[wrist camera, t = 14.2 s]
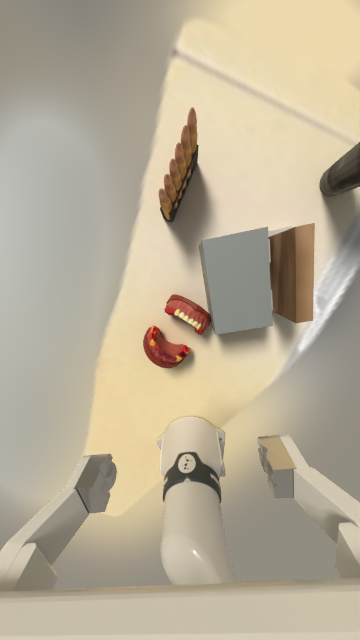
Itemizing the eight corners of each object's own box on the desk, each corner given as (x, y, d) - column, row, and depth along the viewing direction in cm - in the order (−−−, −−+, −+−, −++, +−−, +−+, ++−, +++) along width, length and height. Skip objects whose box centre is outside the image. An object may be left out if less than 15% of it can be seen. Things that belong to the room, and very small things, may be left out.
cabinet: (291, 308, 38) (317, 318, 31) (210, 321, 40) (215, 334, 32) (289, 227, 34) (319, 215, 26) (198, 246, 36) (202, 240, 28)
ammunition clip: (171, 222, 35) (164, 200, 23) (163, 218, 34) (151, 193, 23) (197, 162, 32) (203, 102, 20) (188, 156, 32) (188, 93, 20)
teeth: (221, 323, 32) (175, 381, 36) (216, 312, 39) (178, 361, 43) (173, 289, 31) (131, 353, 35) (177, 285, 39) (142, 338, 43)
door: (284, 234, 34) (323, 221, 24) (286, 305, 38) (320, 319, 28) (264, 238, 34) (295, 226, 24) (268, 308, 38) (296, 323, 28)
